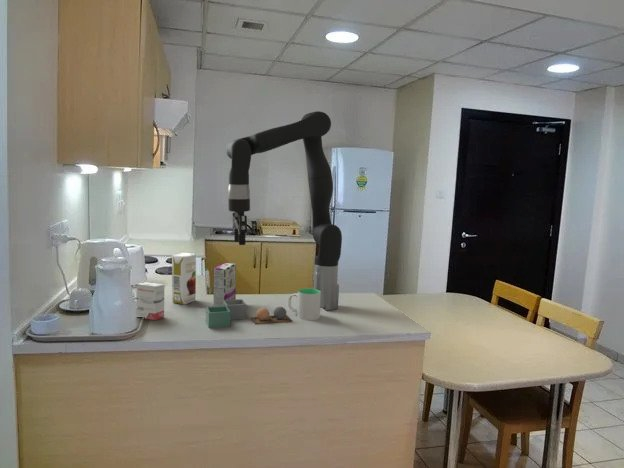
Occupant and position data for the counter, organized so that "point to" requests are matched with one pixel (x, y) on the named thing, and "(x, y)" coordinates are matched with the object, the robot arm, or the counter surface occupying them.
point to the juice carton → (183, 278)
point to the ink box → (150, 300)
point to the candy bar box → (224, 283)
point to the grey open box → (236, 308)
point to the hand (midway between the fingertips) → (239, 243)
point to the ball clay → (262, 314)
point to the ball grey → (279, 313)
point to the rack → (270, 320)
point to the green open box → (217, 316)
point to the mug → (307, 304)
